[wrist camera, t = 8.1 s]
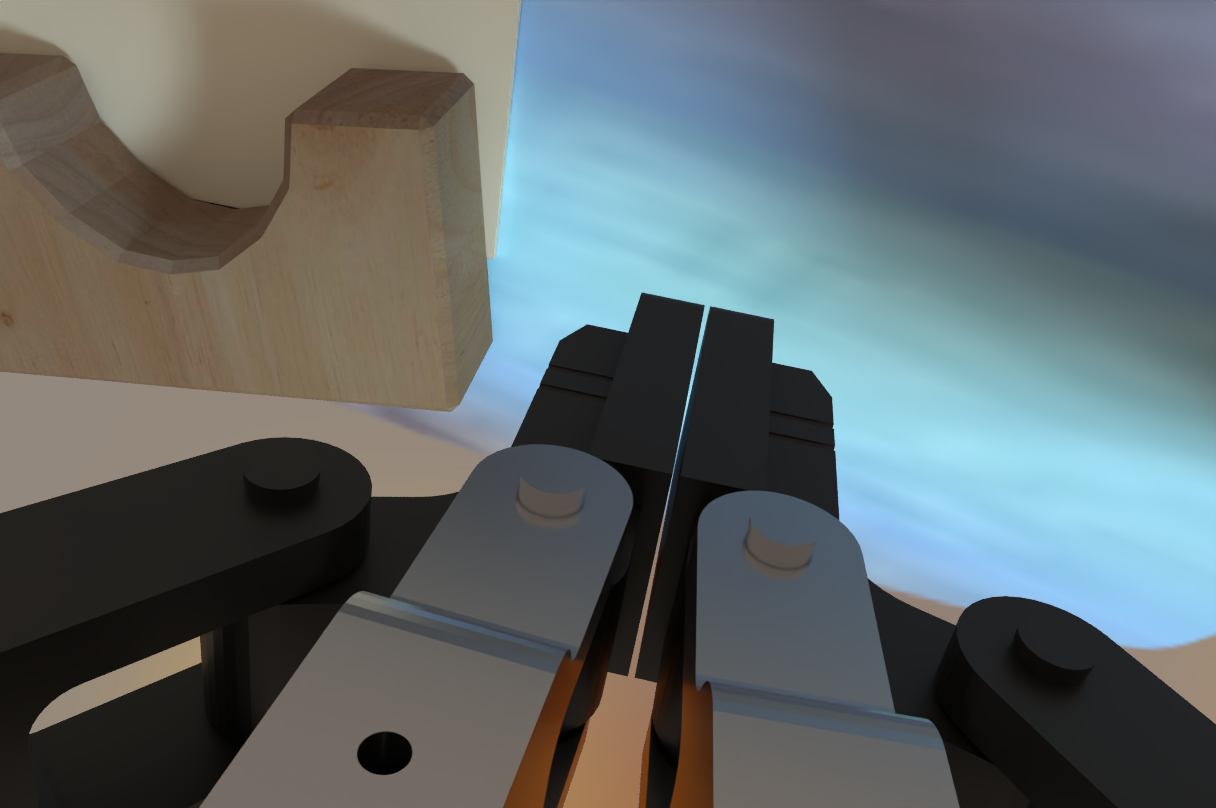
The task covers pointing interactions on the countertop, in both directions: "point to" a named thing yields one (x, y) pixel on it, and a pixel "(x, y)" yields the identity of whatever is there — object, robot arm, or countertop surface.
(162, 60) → the sand mat
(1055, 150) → the countertop surface
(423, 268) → the decorative block
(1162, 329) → the countertop surface
